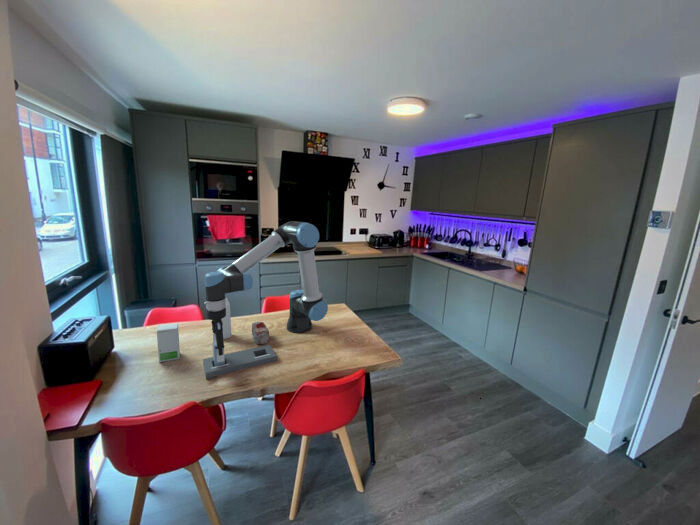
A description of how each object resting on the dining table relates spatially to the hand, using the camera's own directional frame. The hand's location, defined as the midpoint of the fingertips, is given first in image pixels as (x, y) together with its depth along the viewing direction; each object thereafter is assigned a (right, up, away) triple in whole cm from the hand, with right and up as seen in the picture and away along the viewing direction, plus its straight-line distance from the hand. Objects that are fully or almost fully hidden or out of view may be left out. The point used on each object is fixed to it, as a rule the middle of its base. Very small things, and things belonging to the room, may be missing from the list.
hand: (218, 353), depth 126 cm
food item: (+9, -2, +28) cm, 30 cm away
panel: (+7, -6, +6) cm, 12 cm away
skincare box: (-27, -5, +9) cm, 29 cm away
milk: (-11, -1, +31) cm, 32 cm away
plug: (0, -7, +1) cm, 7 cm away
